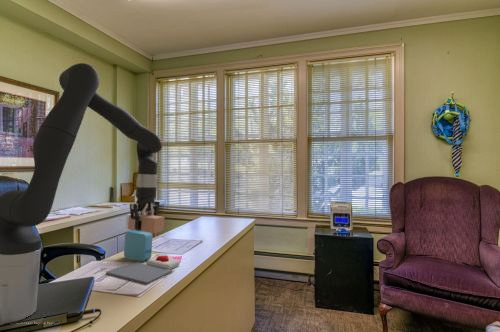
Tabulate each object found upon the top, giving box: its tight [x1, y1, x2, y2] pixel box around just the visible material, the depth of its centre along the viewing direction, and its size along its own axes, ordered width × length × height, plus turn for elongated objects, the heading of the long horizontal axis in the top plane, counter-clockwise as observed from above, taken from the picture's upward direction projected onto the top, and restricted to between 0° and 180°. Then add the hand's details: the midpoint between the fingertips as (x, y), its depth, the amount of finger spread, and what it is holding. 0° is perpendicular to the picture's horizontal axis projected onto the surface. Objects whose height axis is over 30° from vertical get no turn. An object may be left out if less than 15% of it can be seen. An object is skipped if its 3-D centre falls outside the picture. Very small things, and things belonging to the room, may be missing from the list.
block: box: [125, 213, 166, 234], centre depth 108 cm, size 6×6×14 cm
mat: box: [105, 261, 173, 285], centre depth 108 cm, size 14×20×1 cm
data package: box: [123, 230, 153, 262], centre depth 125 cm, size 12×4×12 cm, turn 68°
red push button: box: [146, 255, 180, 270], centre depth 118 cm, size 12×4×10 cm
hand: (143, 228), depth 108 cm, fingers closed on block, 5 cm apart
